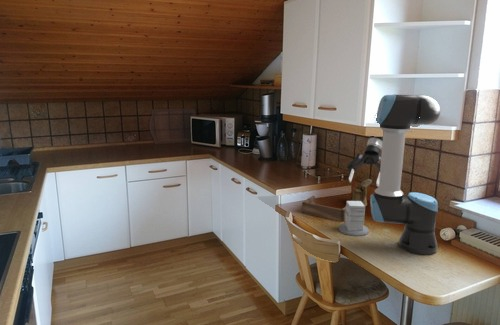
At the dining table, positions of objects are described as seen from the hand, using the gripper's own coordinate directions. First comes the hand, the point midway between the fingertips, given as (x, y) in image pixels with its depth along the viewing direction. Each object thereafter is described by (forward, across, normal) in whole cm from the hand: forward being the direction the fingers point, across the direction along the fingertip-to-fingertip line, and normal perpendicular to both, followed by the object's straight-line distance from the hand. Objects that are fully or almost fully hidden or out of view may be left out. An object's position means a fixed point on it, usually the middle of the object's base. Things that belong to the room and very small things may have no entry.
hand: (363, 183), depth 185 cm
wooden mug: (-3, +7, -33) cm, 34 cm away
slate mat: (+23, 0, -6) cm, 24 cm away
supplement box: (+22, 0, -6) cm, 23 cm away
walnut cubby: (+12, +19, -17) cm, 28 cm away
